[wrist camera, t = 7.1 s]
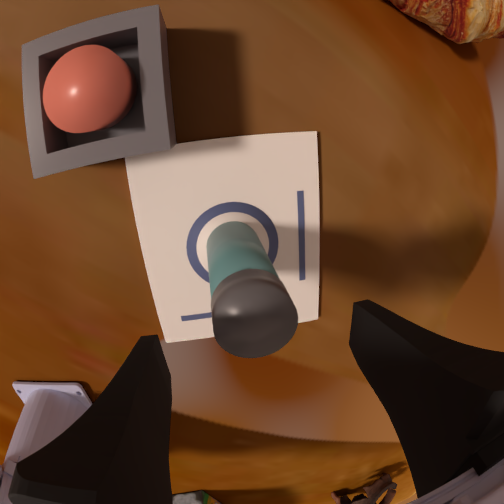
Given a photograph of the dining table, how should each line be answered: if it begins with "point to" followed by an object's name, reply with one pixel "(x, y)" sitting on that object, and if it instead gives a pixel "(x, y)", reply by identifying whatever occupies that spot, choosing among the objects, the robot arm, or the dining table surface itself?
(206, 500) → the chalk box
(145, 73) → the button housing
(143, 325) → the dining table surface
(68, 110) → the button
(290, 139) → the paper sheet
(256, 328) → the marker
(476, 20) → the croissant
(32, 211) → the dining table surface
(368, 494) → the brown black arched piece
